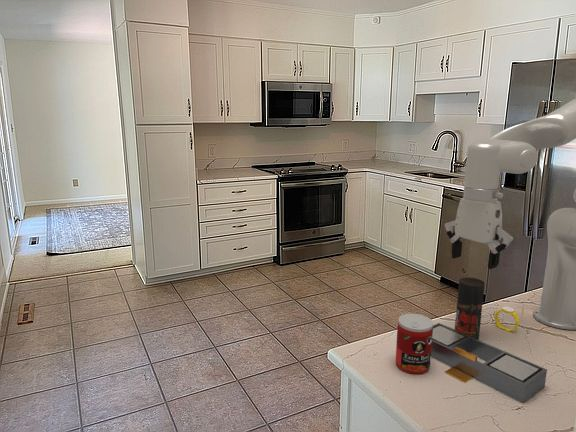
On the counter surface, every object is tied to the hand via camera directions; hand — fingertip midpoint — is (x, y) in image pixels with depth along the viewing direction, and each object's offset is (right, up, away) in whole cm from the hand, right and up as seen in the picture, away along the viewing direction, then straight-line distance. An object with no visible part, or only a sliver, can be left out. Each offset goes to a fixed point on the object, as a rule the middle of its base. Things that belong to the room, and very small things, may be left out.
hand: (473, 262), depth 110 cm
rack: (-5, -23, -10) cm, 25 cm away
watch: (+12, -19, +9) cm, 24 cm away
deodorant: (0, -20, +5) cm, 20 cm away
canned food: (-18, -23, -8) cm, 30 cm away
